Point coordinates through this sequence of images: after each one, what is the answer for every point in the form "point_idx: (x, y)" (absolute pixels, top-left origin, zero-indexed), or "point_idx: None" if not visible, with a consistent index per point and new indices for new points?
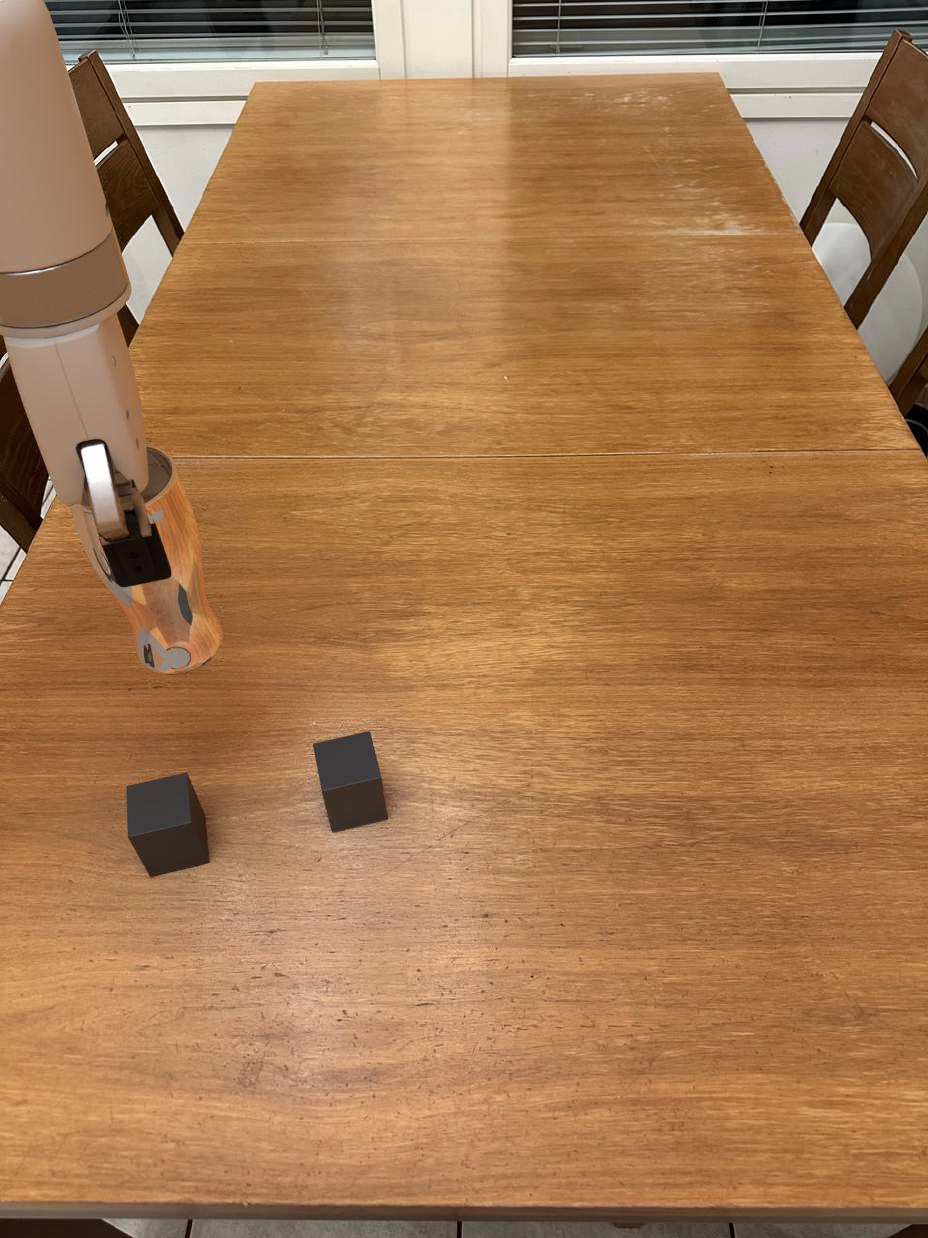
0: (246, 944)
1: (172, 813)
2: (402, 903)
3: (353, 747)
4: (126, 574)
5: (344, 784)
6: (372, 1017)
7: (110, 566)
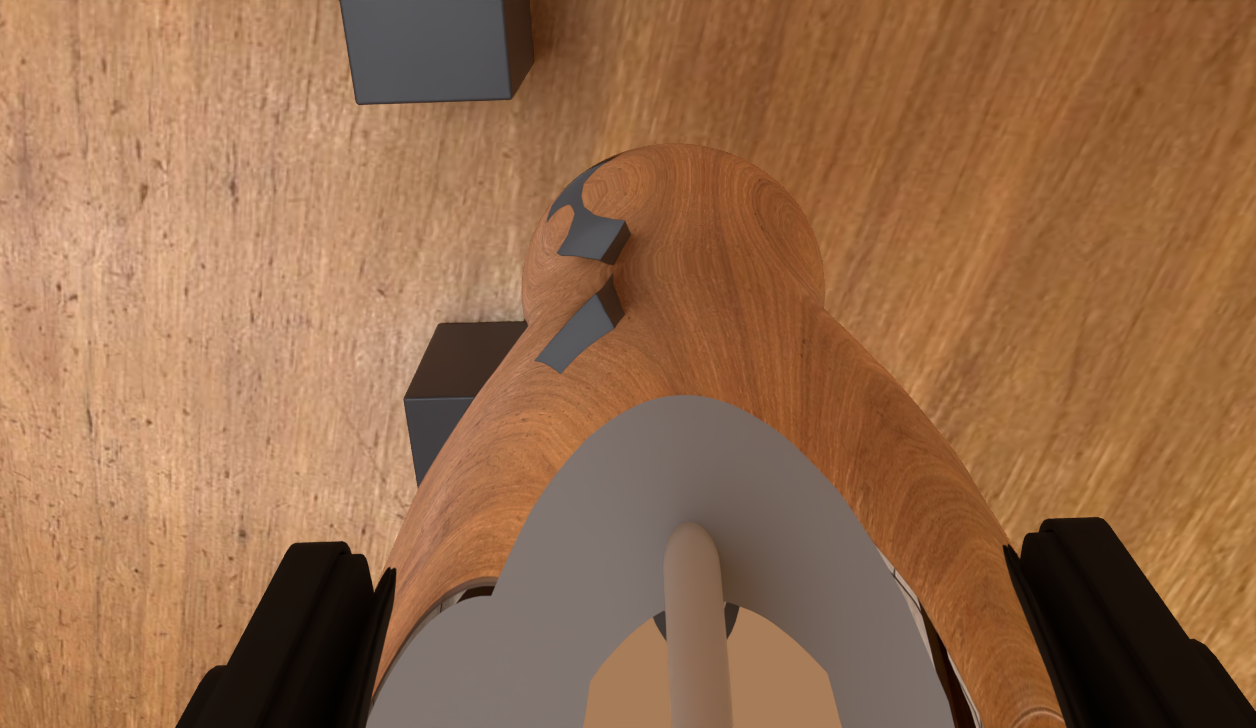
0: (207, 134)
1: (388, 58)
2: (274, 418)
3: None
4: (195, 700)
5: (413, 443)
6: (65, 339)
7: (233, 654)
